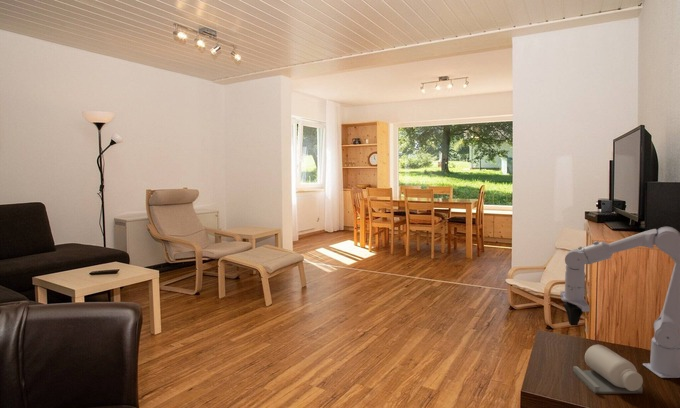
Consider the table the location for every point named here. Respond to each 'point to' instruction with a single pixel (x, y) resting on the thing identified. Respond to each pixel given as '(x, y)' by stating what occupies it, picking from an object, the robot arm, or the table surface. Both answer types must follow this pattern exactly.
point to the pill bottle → (613, 367)
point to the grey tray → (599, 382)
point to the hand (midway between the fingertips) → (573, 324)
